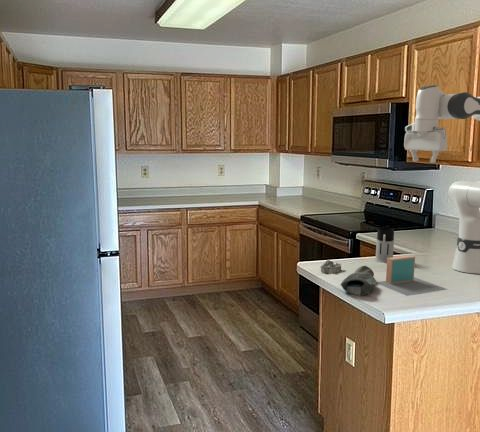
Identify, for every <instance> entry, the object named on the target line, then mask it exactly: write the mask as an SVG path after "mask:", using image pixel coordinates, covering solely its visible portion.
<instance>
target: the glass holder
mask: <svg viewBox="0 0 480 432" xmlns="http://www.w3.org/2000/svg"><path fill="white" fill-rule="evenodd" d="M376 231H377V233H376V234H377V235H376V236H377V237H376V247H375V258H374V261H375V262H379V263H386V264H387V258H392V257H394V245H395V244H394V243H395V238H394V237H395V229H394V228H390V227H378V228H377V230H376Z"/></svg>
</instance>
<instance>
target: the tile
mask: <svg viewBox="0 0 480 432" xmlns="http://www.w3.org/2000/svg"><path fill="white" fill-rule="evenodd" d="M415 263H416V256H415V255H412V254H411V255H401V256H395V257H394V256H393V257H392V258H387V263H386V275H385V276H386V277H385V281H386V283H389V284H395V283H401V282H408V281H414V277H415V269H416V268H415V267H416V266H415Z"/></svg>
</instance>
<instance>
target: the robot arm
mask: <svg viewBox="0 0 480 432" xmlns="http://www.w3.org/2000/svg"><path fill="white" fill-rule="evenodd" d="M415 99H416V100H415V113H416V114H415V118H414V122H412V123H411V124H409V125H406V126H405V127H404V131H405V134H404V140H403V141H404V142H403V147H404V150H405V151H407V150H409V151H410V154H411V157H412V162H415V163H416V162H419V158H420V157H419V156H418V154H417V153H418V151H425V152H426V151H428V152H429V151H430V152H432V153H431V154H432V156H431V157H429V163H431V164H435V163H436V162H437V157H438V156H439V154H440V152H445V151H447V149H448V136H447V130H446V128H444V127H443V126H440V127H439V120H453V119H455V120H466V119H469V118H471V117H473V119H474V120H476V121H479V122H480V96H477V97H476V96H474V95H473V94H471V93H469V92H458V93H449V94H446V93H445V92H443V91H442V90H441V89H440V87H439V85H435V84H434V85H433V84H432V85H425V86H422V87H420V88H419V89H418V91H417V95H416V98H415ZM447 192H448V193H447V194H448V198H449V199H450V201H451V202H452V203H453V205H454V207H455V208H456V211H457V215H458V221H459V223H458V225H459V227H458V229H459V230H458V236H457V238H456V246H457V247H456V248H455V251H454V257H453V258H454V259H453V262H452V263H451V265H452V266H451V268H452V269H453V270H454V271H457V272H462V273H468V274H478V275H480V180H478V181H475V180H466V179H465V180H458V181H454V182H452V184H451V185H450V186H449V188H448V191H447Z"/></svg>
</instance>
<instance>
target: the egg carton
mask: <svg viewBox="0 0 480 432" xmlns="http://www.w3.org/2000/svg"><path fill="white" fill-rule="evenodd" d="M319 268H320V272H322V274H330V275H334V274H337V273H339V271H342V263H338V262H336V263H334V261H332V260H330V259H326V261H325V262H324V263H323V264H321V266H320V267H319Z"/></svg>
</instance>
